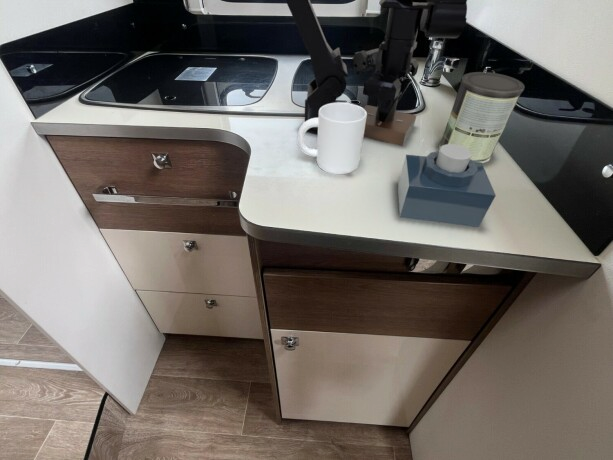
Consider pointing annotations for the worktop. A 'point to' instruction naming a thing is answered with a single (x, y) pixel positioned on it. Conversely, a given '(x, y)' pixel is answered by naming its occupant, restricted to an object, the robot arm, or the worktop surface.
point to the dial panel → (388, 126)
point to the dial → (391, 114)
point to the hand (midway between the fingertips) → (385, 117)
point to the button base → (443, 192)
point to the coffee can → (481, 112)
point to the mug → (336, 137)
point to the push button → (453, 158)
